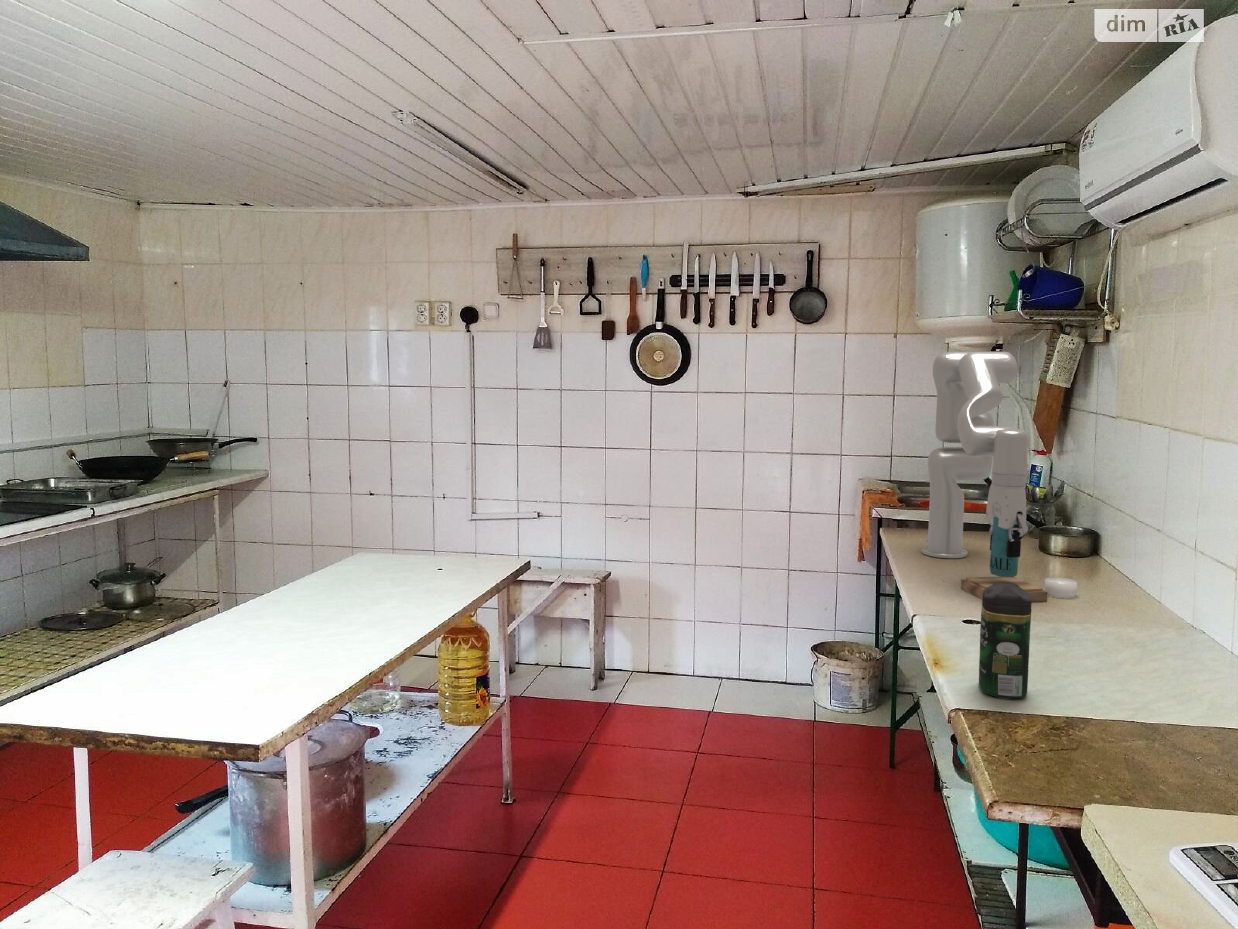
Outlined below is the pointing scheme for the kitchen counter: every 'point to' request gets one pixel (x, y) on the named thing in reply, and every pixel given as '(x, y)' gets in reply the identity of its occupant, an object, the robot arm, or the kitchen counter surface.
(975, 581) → the riser
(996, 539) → the beverage bottle
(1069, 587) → the white soap bar
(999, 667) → the coffee jar
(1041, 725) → the kitchen counter surface
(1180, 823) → the kitchen counter surface
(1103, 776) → the kitchen counter surface
